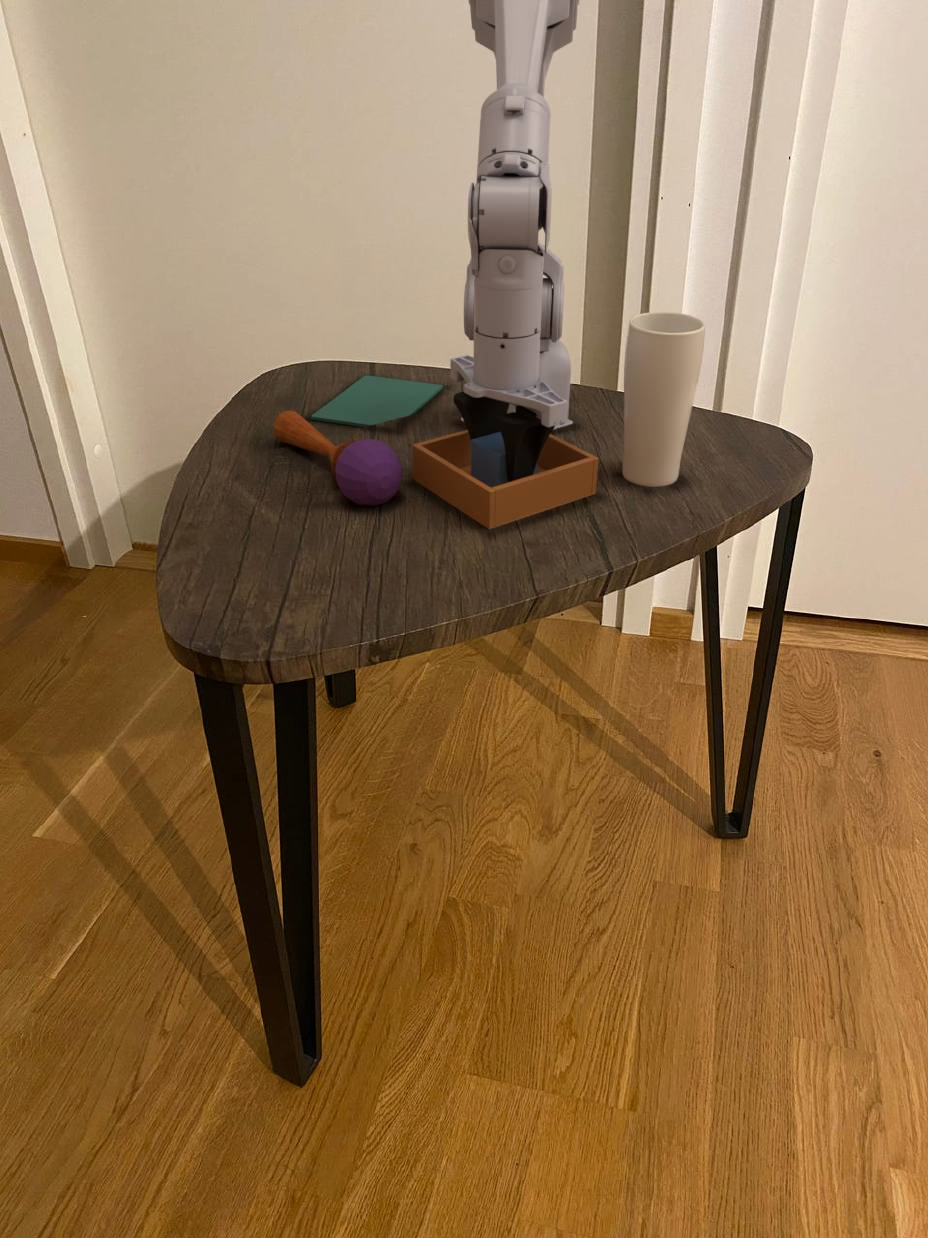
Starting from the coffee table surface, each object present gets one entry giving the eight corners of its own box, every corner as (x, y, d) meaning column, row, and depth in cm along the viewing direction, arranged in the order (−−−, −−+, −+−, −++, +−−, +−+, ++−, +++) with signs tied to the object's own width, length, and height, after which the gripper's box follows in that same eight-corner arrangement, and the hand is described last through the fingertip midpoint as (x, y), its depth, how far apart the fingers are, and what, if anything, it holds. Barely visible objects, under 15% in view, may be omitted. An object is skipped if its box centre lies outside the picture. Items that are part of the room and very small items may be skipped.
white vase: (700, 484, 93) (723, 326, 85) (644, 500, 90) (663, 338, 82) (653, 459, 98) (671, 307, 90) (599, 473, 95) (612, 318, 87)
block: (508, 472, 94) (509, 428, 92) (536, 488, 91) (538, 444, 89) (470, 483, 92) (470, 439, 90) (498, 500, 89) (499, 455, 87)
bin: (515, 453, 99) (516, 416, 97) (595, 497, 90) (598, 457, 88) (413, 483, 93) (412, 444, 91) (489, 533, 85) (489, 491, 82)
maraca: (316, 397, 101) (417, 447, 86) (313, 453, 103) (411, 511, 89) (262, 397, 98) (357, 450, 83) (260, 456, 100) (353, 517, 85)
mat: (365, 378, 117) (365, 374, 117) (443, 388, 115) (443, 384, 114) (310, 419, 106) (310, 416, 106) (395, 431, 104) (395, 428, 103)
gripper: (421, 316, 86) (424, 458, 94) (522, 360, 77) (516, 515, 84) (486, 303, 90) (484, 441, 97) (590, 344, 80) (579, 494, 87)
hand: (503, 474), depth 91 cm, fingers closed on block, 4 cm apart
